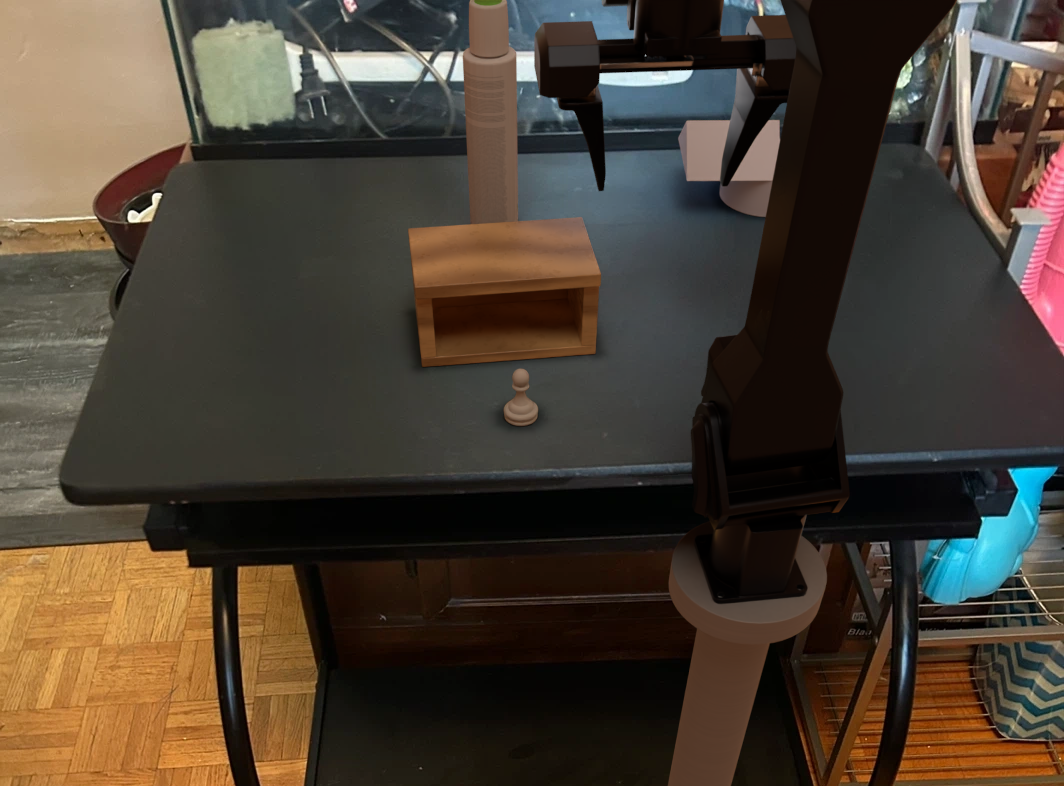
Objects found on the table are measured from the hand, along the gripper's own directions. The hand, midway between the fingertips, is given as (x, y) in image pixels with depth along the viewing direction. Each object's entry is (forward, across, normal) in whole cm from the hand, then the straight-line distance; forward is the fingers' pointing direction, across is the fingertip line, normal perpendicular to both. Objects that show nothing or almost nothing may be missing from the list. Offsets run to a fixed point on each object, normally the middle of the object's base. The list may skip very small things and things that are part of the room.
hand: (662, 186), depth 76 cm
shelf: (+11, +12, 0) cm, 17 cm away
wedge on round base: (+11, -13, -23) cm, 28 cm away
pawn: (+12, +11, +11) cm, 20 cm away
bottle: (+11, +12, -16) cm, 23 cm away
